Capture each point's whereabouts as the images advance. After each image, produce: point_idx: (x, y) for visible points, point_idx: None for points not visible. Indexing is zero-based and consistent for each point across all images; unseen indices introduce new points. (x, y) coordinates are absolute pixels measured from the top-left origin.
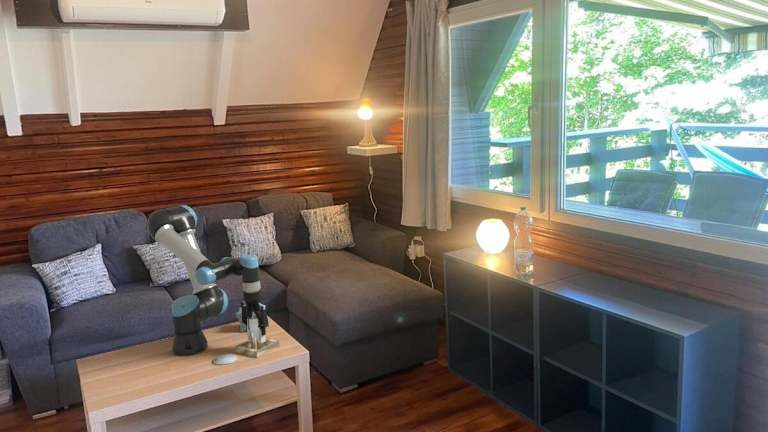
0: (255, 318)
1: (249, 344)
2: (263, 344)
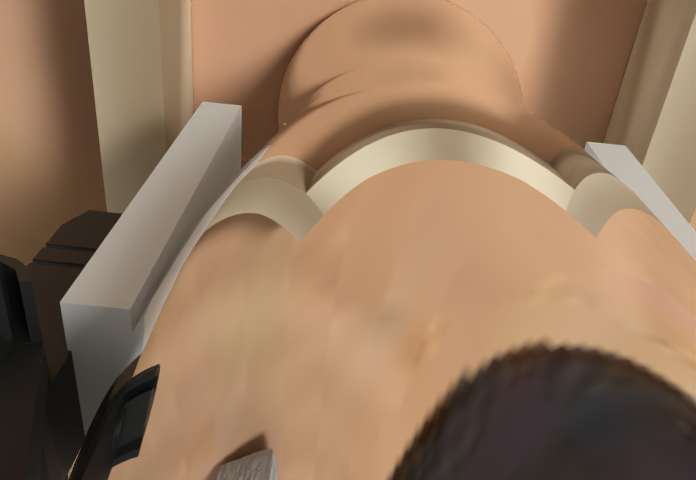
0: (175, 441)
1: (181, 100)
2: (516, 95)
